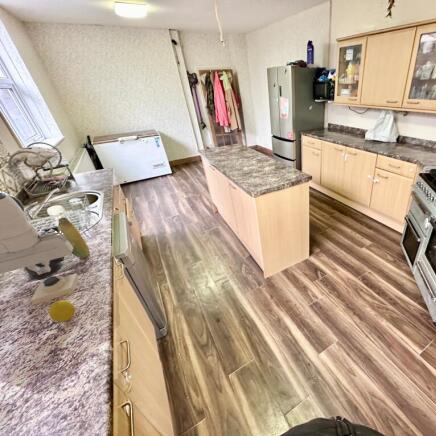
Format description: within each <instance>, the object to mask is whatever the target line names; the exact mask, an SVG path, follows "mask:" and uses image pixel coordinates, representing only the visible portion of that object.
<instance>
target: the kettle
mask: <svg viewBox="0 0 436 436" xmlns="http://www.w3.org/2000/svg"><path fill="white" fill-rule="evenodd" d="M64 260H65V256H64V257H60V258H57V259H53V260H50V262H49V267H50V268H51V270H50V272H47V273H43V274H40V275H38V273H37V272H36V271H33V270H30V269H28V268H27V267H24V268H23V269H24V270H25V271H26V272H27V274H28V278H29V279H30V280H34V281H35V282H36V281H37V282H38V281H42V280H46V279H47V278H49V277H52V276H54V274H55V273H57V272H58V271H59V270H61V268H62V267H63V263H62V262H64ZM35 266H38V267H40V268H41V267H45V264H44V265H42V263H39V264H35Z"/></svg>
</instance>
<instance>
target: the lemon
mask: <svg viewBox="0 0 436 436" xmlns="http://www.w3.org/2000/svg"><path fill="white" fill-rule="evenodd" d="M75 314H76V307H75V305H74V304H73V303H72V302H70V301H69V300H65V299H62V300H58V301H54V302H53V303H52V304H51V305H50V306H49V309H48V315H49V317H50V319H51V320H52V321H54V322H57V323H66V322H67V321H70V320H71V319H72V318H73V317H74V316H75Z"/></svg>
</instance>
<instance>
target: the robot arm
mask: <svg viewBox="0 0 436 436" xmlns="http://www.w3.org/2000/svg"><path fill="white" fill-rule="evenodd" d="M57 233H59V234H57ZM72 251H73V246H72V245H71V244H70V243H69V241H68V240H67V238H66V236H65V235H64V234H63V233H60V232H51V233H48V234H43V235H41V234H40V233H39V232H38V230H37V229H36V227H35V226H34V225H33V223H31V222H30V221H29V220H28V219H27V216H26V213H25V207H24V204H23V203H22V201H21V200H20V199H19V198H17V197H15V196H14V195H11V194H9V193H7V192H4V191H1V190H0V275H3V274H5V273H10V272H13V271H17V270H20V269H25V268H24V267H27V268H28V269H30V270H33V271H36V272H37V273H38V275H40V274H43V273H47V272H50V270H51V268H50V267H49V262H50V260H53V259H57V258H60V257H64V258H65V257H67V256H70V255H71V254H72ZM39 263H42V265H44V264H45V267H41V268H40V267H38V266H35V264H39Z"/></svg>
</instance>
